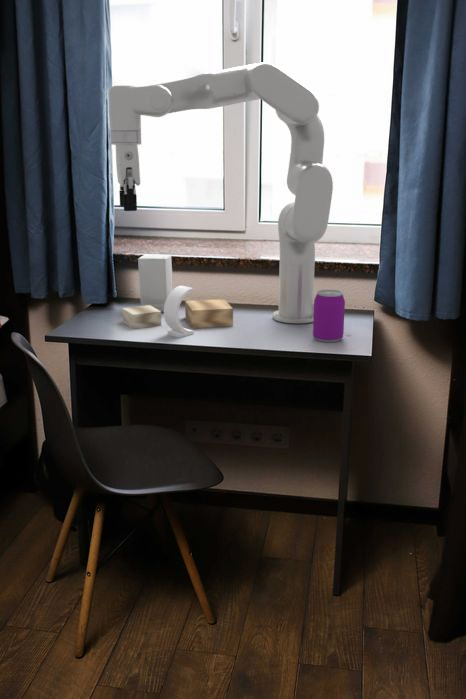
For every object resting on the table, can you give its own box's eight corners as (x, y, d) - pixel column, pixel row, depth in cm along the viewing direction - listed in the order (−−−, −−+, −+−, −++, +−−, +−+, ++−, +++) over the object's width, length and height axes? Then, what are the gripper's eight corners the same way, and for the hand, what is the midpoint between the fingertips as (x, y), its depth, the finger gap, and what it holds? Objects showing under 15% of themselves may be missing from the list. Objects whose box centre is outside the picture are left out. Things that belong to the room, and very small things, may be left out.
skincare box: (174, 307, 232) (173, 254, 227) (167, 313, 226) (166, 258, 221) (146, 305, 234) (145, 253, 229) (139, 311, 228) (137, 257, 223)
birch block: (150, 319, 221) (149, 305, 220) (161, 325, 214) (161, 311, 213) (122, 322, 217) (122, 308, 216) (133, 329, 210) (132, 314, 209)
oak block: (224, 316, 224) (224, 299, 222) (232, 326, 214) (233, 308, 212) (185, 318, 222) (185, 300, 220) (192, 328, 211) (192, 310, 210)
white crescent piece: (193, 333, 206) (193, 288, 202) (176, 338, 202) (175, 291, 198) (181, 330, 209) (181, 285, 205) (164, 334, 205) (163, 288, 201)
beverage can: (341, 334, 205) (343, 289, 202) (344, 343, 198) (347, 296, 194) (311, 334, 206) (313, 288, 202) (313, 343, 198) (315, 295, 195)
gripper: (145, 139, 190) (147, 212, 195) (137, 136, 206) (139, 204, 211) (113, 139, 188) (116, 213, 193) (107, 137, 204) (110, 204, 209)
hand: (128, 208), depth 202 cm, fingers open, 9 cm apart
